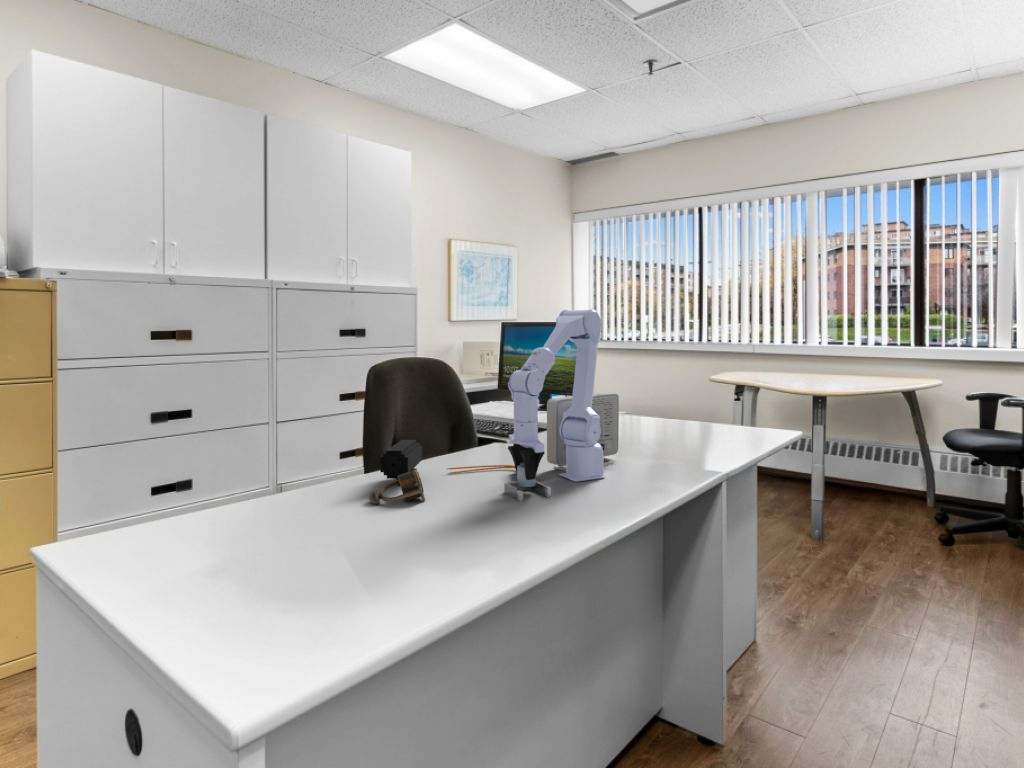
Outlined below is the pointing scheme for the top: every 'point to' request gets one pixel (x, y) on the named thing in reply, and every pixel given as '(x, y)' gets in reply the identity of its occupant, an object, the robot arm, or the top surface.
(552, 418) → the network device
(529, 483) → the light grey cylinder
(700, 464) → the top surface
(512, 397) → the robot arm
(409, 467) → the security camera
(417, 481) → the mechanical counter
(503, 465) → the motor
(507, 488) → the clip cradle
